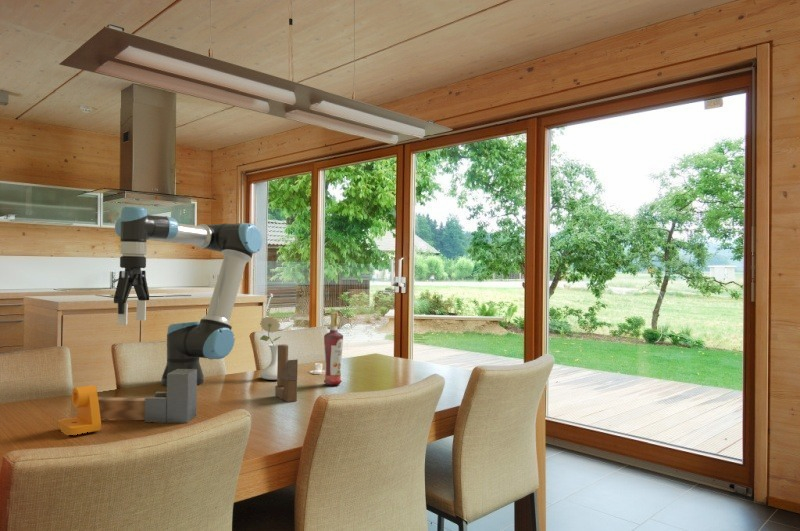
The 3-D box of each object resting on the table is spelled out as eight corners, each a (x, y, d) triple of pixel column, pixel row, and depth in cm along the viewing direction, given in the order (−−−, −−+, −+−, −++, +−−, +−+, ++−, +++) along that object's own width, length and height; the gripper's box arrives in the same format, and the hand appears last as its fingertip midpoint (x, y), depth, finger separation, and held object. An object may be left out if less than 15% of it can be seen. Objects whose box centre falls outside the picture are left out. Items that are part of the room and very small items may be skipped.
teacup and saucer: (318, 376, 238) (318, 366, 238) (304, 373, 242) (304, 364, 242) (332, 373, 245) (332, 363, 245) (318, 370, 250) (318, 361, 250)
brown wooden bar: (91, 420, 166) (92, 400, 166) (97, 417, 169) (98, 397, 169) (161, 421, 166) (161, 401, 166) (166, 418, 170) (166, 398, 170)
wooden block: (287, 402, 191) (288, 348, 191) (274, 396, 199) (275, 344, 199) (297, 401, 193) (298, 348, 193) (284, 394, 202) (285, 343, 202)
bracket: (56, 430, 155) (57, 386, 155) (85, 424, 161) (86, 382, 161) (71, 438, 148) (72, 392, 148) (101, 432, 154) (101, 388, 154)
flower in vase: (294, 377, 231) (295, 316, 231) (276, 383, 221) (278, 318, 221) (268, 374, 237) (269, 314, 237) (249, 379, 226) (251, 316, 226)
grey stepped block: (156, 414, 172) (157, 368, 172) (196, 415, 173) (197, 369, 173) (144, 422, 164) (145, 374, 164) (186, 423, 164) (187, 374, 164)
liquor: (334, 387, 214) (335, 313, 214) (319, 385, 218) (320, 312, 218) (346, 384, 221) (347, 312, 221) (331, 382, 225) (332, 310, 224)
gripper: (138, 255, 194) (136, 318, 194) (101, 254, 169) (100, 326, 169) (160, 256, 194) (159, 318, 194) (127, 255, 169) (126, 326, 169)
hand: (132, 322), depth 182 cm, fingers open, 13 cm apart
